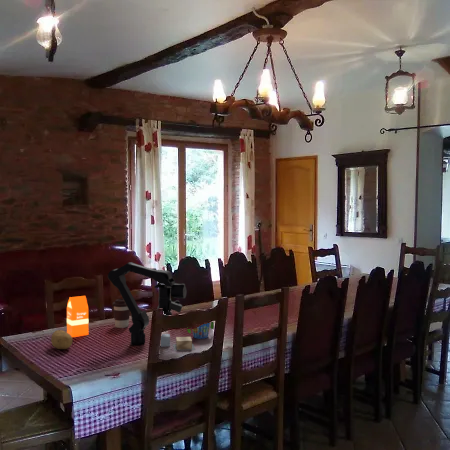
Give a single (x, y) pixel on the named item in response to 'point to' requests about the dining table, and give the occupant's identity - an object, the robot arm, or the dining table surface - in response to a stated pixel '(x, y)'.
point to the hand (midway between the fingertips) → (164, 329)
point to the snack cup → (201, 331)
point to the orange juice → (77, 316)
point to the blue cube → (165, 340)
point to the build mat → (183, 349)
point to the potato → (61, 339)
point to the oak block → (183, 343)
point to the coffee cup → (121, 313)
